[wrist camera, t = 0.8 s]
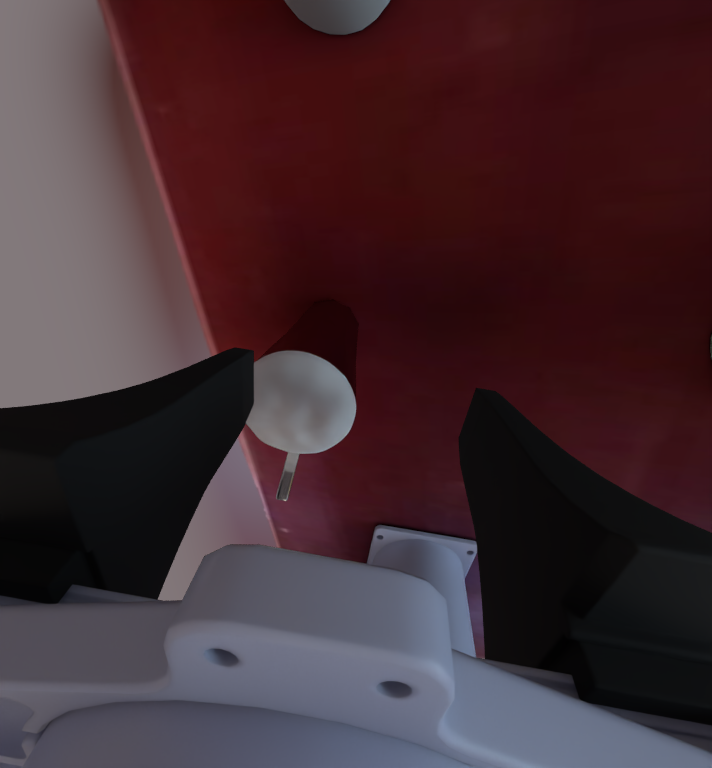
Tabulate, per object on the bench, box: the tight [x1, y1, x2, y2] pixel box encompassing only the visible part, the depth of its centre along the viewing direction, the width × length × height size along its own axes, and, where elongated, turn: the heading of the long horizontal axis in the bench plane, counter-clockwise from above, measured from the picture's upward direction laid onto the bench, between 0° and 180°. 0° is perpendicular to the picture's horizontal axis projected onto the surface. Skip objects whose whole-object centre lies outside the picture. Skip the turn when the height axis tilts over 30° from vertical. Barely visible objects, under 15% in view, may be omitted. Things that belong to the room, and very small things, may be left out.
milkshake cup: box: [246, 299, 359, 501], centre depth 17 cm, size 5×5×10 cm
